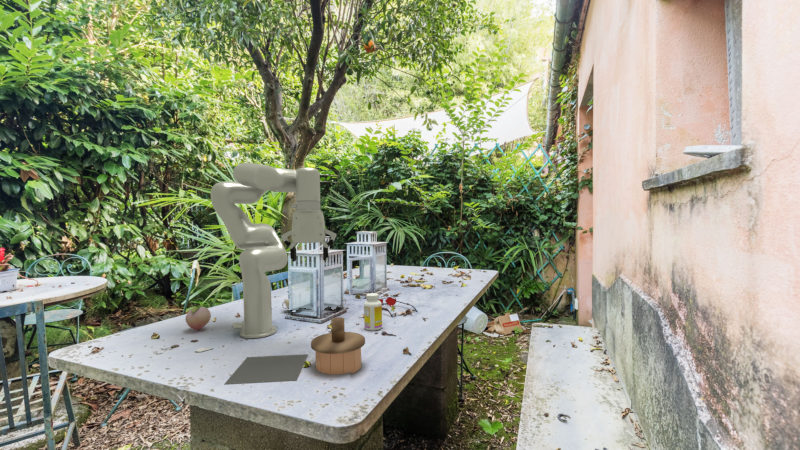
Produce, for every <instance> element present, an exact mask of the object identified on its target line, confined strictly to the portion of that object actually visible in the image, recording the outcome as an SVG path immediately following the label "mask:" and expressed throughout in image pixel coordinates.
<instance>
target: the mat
mask: <svg viewBox="0 0 800 450" xmlns="http://www.w3.org/2000/svg"><path fill="white" fill-rule="evenodd" d="M308 357H309V354H308V353H307V354H288V355H284V354H283V355H263V356H247V357H246V358H245V359H244V360H243V362H242V363H241V364H240V365H239V366H238V367H237V369H235V371H233V373H232V374H231V376H229V378H228V379H227V380H226V381H225V382H224V383H223V385H228V386H229V385H240V384H241V385H242V384H243V385H244V384H245V385H246V384H260V383H261V384H262V383H263V384H264V383H280V382H281V383H282V382H297V381H298V379H299V377H300V375H301V372H302V369H303V368H304V365H305V363H306V361H307V358H308Z"/></svg>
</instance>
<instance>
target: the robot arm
mask: <svg viewBox="0 0 800 450" xmlns="http://www.w3.org/2000/svg"><path fill="white" fill-rule="evenodd" d="M232 171H233V172H232V175H233V178H234V179H233V180H235V181H230V180H229V181H227V180H225V181H220V182H217V183H214V185H213V186H212V188H211V189H210V190H211V191H210V201H211V204H212V207H213V209H214V211H215V213H216V214H217V215H218V217H219V218H220V219H221V221H222V222H223V224H224V226H225V228H226V230H227V232H228V234H229V237H230V238H231V240H232V243H234V245H235V246H236V248H238V249H240V250H242V251H241V252H240V254H239V256H238V257H239V258H238V263H239V267H240V272H241V278H242V292H243V296H242V299H243V321H242V322H233V323H232V329H233V330H240V331H239V336H240V337H241V338H245V339H261V338H264V337H269V336H272V335H273V334H275V333H276V332H277V329H278V328H277V327H276V326H275V325H273V316H272V315H273V312H272V309H273V308H272V284H271V281H270V279H269V278H268V276H267V274H266V273H267V272H272V271H273V272H274V271H279V270H282V269H284V268H285V267H286V265H287V264H288V261H289V259H288V252H287V250H286V247H284V245H286V246H287V248H288V249H289V250H290V252H289V253H290V256H289V257H290V259H291V261H292V263H293V262H296V261H297V248H296V246H297V245H298V244H314V243H315V244H316V243H317V244H321V245H322V246H323V249H322V261H324V262H325V261H327V259H328V258H329V247H331V246H332V244H333V243H334V242H335V239H336V238H337V233H335V232H333V231H331V230H329V229H327V228H326V225H325V224H326V223H325V217H324V212H323V210H321V180H320V178H321V175H320V171H319V169H317V168H313V167H300V168H297V169H292V168H291V169H289V168H280V167H272V166H270V165H268V164H260V163H253V162H252V163H251V162H243V163H242V162H241V163H239V164H237V165H236V166H234V168H233V170H232ZM267 191H268V192H269V191H270V192H276V193H294V194H295V202H294V203H291V209H295V211H293V214H292V222H291V229H290V230H289V231H286V232H285V233H283V234H282V235H280V237H281V239H282V241H283V242H284V244H283V242H282V241H281V239H280V237H279V235H278V233H277V231H276V230H275V229H274V227H272V226H271V225H270V224H267V223H253V222H251V220H250V218H249V217H248V215H247V214H246V212H245V211H244V209H243V210H242V208H240V207H239V206H238V205H241V204H242V205H244V204H245V205H247V204H248V205H252V204H255V203H257V202H258V201H259V200H260V199H261V198H262V197H263V196H264V194H266V193H267ZM326 235H329V236H330V239H329V241H327V240H326ZM290 236H291V241H292V242H291V241H290V240H289V239H288V237H290Z"/></svg>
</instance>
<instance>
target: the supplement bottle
mask: <svg viewBox="0 0 800 450" xmlns="http://www.w3.org/2000/svg"><path fill="white" fill-rule="evenodd" d="M379 295H380V294H379V293H376V292H375V293H373V292H371V293H367V294H366V295H365V296H366V297H365V298H366V301H364V303H363V314H364V315H363V316H364V317H363V320H364V321H363V323H364V324H363V325H364V329H365V330H367V331H370V332H371V331H379V330H381V329H382V328H383V309H382V308H383V305H382V303H381V301H379V300H380V298H379ZM378 299H379V300H378Z"/></svg>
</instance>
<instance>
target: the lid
mask: <svg viewBox="0 0 800 450" xmlns="http://www.w3.org/2000/svg"><path fill="white" fill-rule="evenodd" d="M330 320H331V321H330V322H331V325H330V326H331V327H330V328H331V332H329V333H328V332H327V333H325V334H319V336H316V337H314V338H313V339H311V341H310V348H311V349H312V350H313V351H314V352H315V353H316V352H320V353H326V354H339V353H346V352H351V351H354V350H357V349H359V348H361V349H362V348H363V347H365V344H366V338H365V335H363V334H361V333H357V332H351V331H346V329H345V317H340V316H339V317H337V316H336V317H331V319H330Z"/></svg>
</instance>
